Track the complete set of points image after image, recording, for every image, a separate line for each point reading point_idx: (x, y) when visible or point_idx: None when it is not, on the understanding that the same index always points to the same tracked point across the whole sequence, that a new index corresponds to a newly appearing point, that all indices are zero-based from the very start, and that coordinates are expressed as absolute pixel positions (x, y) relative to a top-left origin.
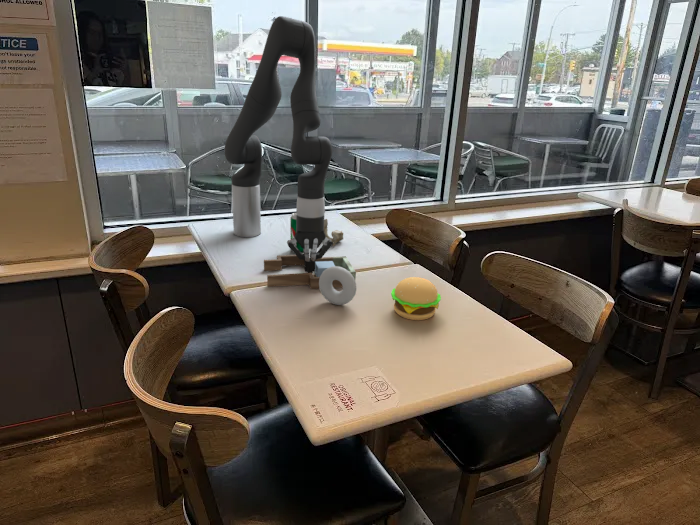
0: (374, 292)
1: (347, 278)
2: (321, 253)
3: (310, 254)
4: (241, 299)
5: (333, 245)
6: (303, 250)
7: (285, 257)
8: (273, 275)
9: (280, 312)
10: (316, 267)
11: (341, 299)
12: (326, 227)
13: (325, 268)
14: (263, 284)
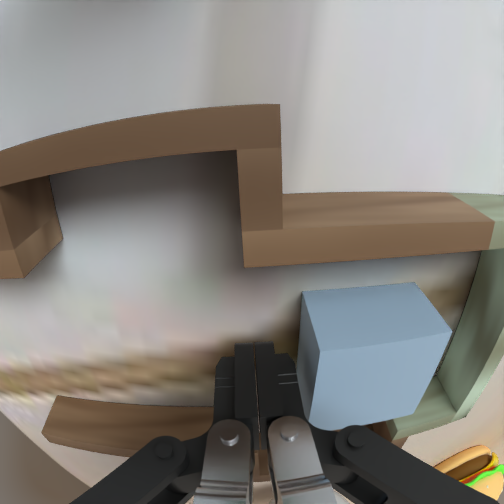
0: (446, 428)
1: None
2: (359, 493)
3: (273, 460)
4: (34, 438)
5: None
6: (200, 491)
7: (35, 177)
8: (67, 442)
9: None
10: (309, 378)
11: None
12: None
13: (352, 424)
14: (40, 384)
